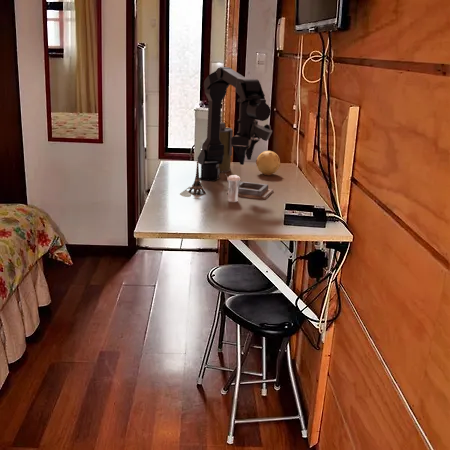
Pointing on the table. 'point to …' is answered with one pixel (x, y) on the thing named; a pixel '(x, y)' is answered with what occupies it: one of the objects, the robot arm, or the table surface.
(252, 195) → the frame
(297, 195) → the table surface
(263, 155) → the stress ball
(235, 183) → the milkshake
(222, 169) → the canister
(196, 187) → the eiffel tower figurine
